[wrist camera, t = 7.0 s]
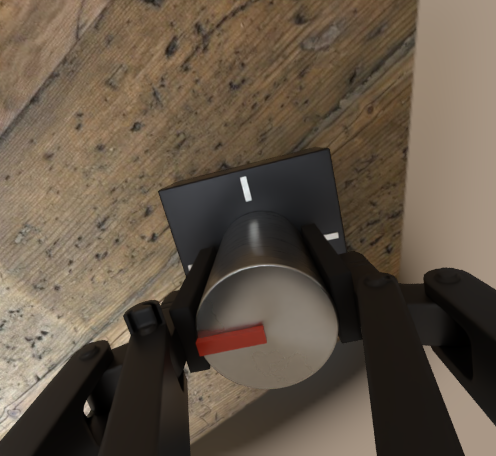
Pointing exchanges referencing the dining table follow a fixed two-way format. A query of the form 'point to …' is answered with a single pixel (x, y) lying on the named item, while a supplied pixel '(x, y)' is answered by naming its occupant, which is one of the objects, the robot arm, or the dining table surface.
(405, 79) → the dining table surface
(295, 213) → the hob panel
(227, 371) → the hob knob
